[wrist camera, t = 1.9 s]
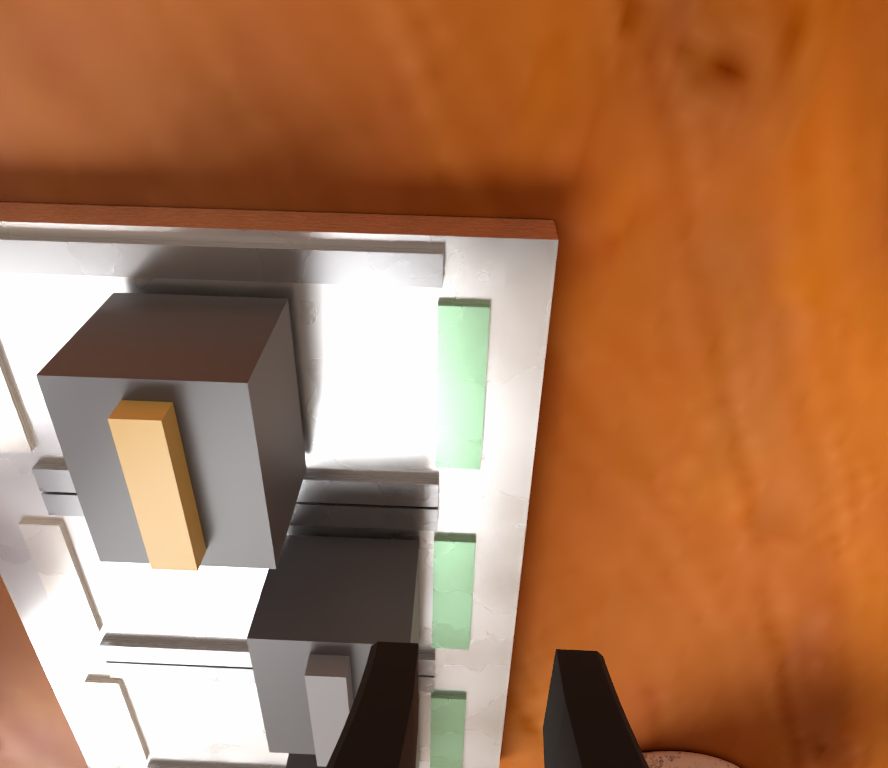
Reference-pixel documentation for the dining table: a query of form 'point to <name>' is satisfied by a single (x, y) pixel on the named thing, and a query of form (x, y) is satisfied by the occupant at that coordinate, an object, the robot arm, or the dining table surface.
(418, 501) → the breaker panel
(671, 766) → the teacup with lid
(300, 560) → the breaker
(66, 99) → the dining table surface
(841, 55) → the dining table surface
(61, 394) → the block
